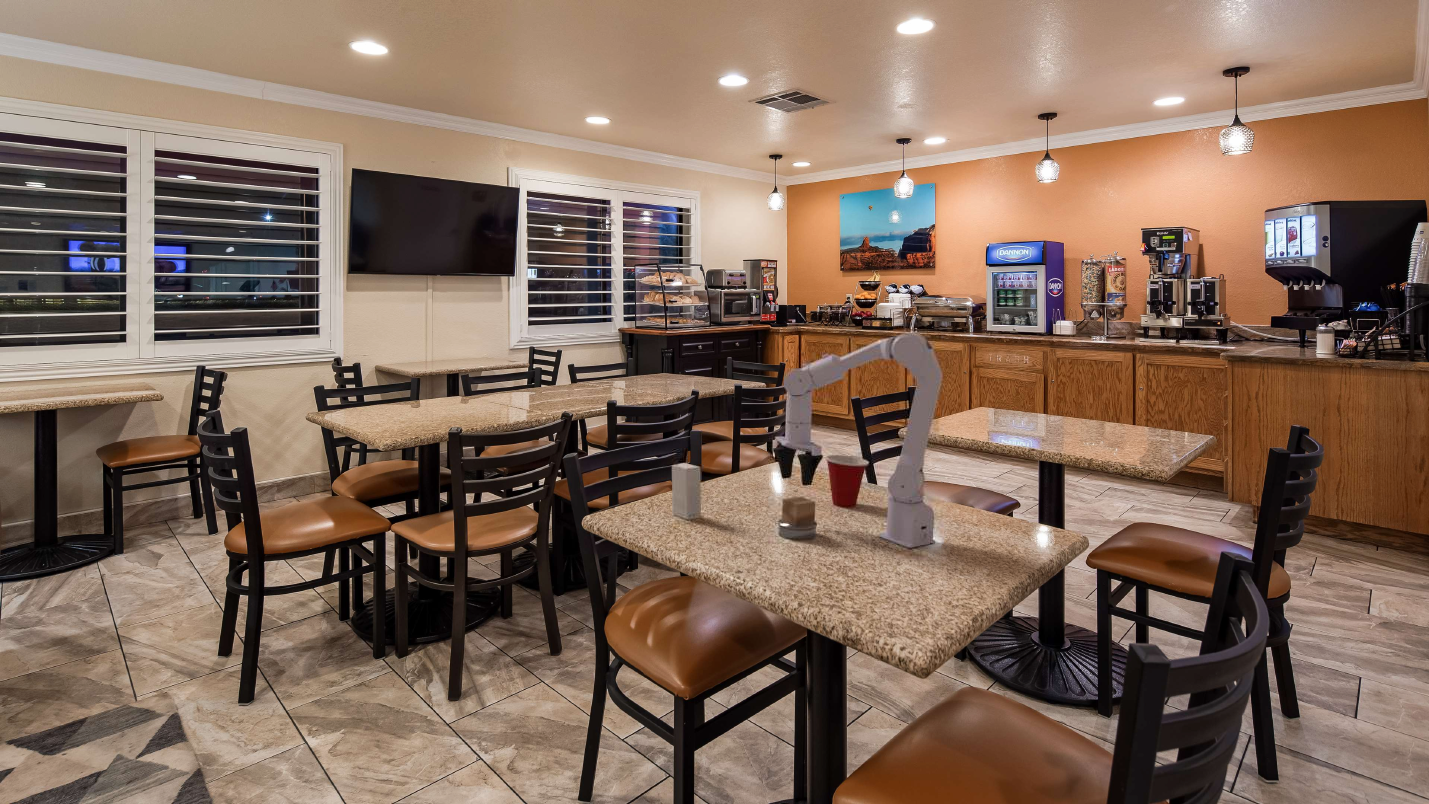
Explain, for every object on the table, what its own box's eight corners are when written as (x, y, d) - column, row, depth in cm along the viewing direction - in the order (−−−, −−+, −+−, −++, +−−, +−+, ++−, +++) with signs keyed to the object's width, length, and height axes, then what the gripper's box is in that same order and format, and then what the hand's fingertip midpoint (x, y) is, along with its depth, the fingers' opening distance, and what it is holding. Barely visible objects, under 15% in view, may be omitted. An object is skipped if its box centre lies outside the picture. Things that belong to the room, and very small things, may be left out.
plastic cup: (870, 510, 183) (873, 462, 181) (826, 509, 183) (828, 461, 181) (863, 499, 194) (865, 454, 192) (821, 498, 194) (823, 453, 192)
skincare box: (701, 517, 174) (702, 466, 172) (686, 520, 171) (687, 468, 169) (685, 511, 179) (686, 462, 177) (670, 514, 176) (671, 464, 174)
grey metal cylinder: (824, 538, 161) (825, 525, 160) (793, 544, 156) (793, 530, 156) (800, 528, 168) (801, 515, 167) (770, 533, 163) (770, 520, 163)
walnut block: (814, 524, 161) (815, 501, 160) (795, 527, 158) (796, 504, 158) (800, 518, 165) (800, 496, 164) (781, 521, 162) (782, 499, 162)
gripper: (765, 418, 171) (763, 476, 173) (804, 427, 159) (802, 490, 161) (789, 417, 175) (788, 473, 177) (829, 425, 163) (827, 486, 164)
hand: (796, 481), depth 169 cm, fingers open, 7 cm apart
